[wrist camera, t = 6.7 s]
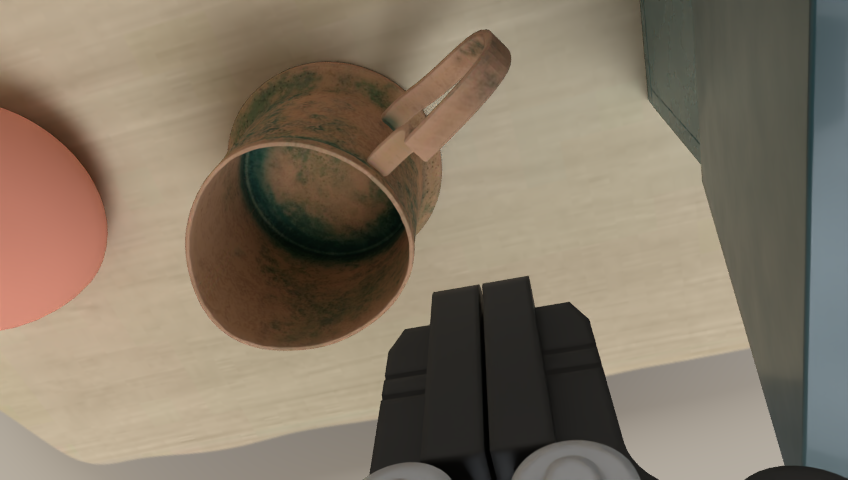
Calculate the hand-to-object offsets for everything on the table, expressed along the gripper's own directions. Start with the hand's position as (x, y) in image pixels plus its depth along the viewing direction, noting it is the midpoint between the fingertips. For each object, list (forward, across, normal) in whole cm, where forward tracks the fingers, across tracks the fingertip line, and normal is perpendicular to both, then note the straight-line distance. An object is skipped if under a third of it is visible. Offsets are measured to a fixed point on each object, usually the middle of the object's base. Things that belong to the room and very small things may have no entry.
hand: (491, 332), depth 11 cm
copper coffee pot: (+26, +6, +4) cm, 27 cm away
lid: (+8, -7, 0) cm, 11 cm away
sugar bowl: (+26, +28, +4) cm, 38 cm away
